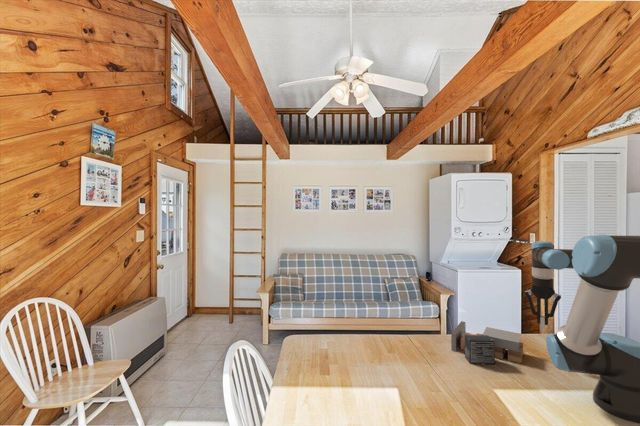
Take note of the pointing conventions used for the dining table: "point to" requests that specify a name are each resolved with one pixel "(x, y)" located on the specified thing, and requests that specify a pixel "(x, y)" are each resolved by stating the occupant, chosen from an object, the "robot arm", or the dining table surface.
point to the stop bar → (457, 336)
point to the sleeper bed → (509, 353)
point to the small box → (479, 349)
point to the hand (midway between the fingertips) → (542, 331)
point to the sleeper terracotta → (464, 340)
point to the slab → (504, 338)
